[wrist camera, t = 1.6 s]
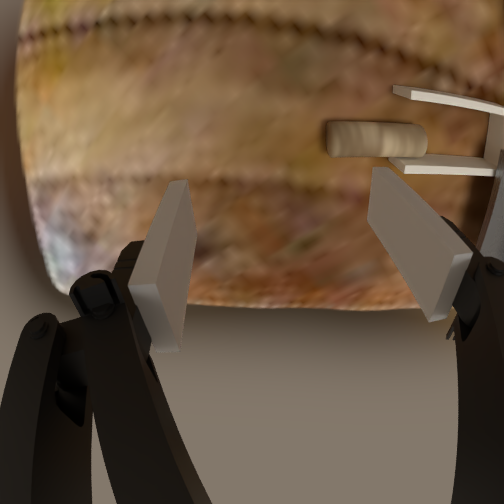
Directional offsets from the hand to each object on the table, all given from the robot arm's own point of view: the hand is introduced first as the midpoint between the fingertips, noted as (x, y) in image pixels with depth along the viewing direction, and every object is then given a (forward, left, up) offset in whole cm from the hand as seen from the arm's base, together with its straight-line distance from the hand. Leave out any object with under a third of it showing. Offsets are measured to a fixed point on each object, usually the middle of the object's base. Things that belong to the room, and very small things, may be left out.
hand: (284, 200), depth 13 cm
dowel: (0, +10, -15) cm, 18 cm away
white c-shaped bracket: (0, +21, -15) cm, 26 cm away
